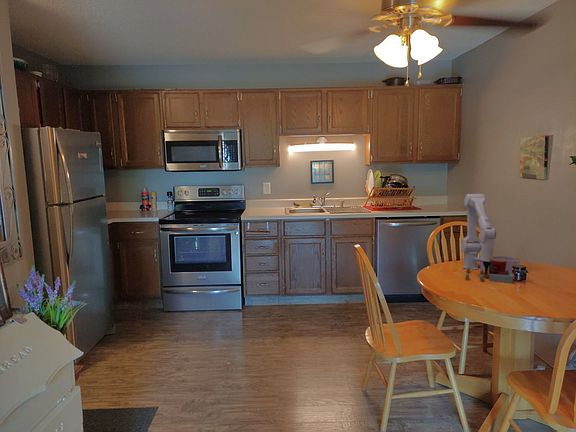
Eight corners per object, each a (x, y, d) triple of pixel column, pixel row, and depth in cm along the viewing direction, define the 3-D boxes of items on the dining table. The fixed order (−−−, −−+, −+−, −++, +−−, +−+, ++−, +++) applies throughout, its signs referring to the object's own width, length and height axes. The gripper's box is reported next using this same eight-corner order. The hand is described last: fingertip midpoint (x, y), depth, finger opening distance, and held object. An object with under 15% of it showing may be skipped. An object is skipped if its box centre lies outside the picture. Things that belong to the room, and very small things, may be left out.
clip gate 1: (466, 271, 230) (466, 266, 230) (469, 271, 229) (469, 267, 229) (465, 279, 213) (465, 275, 213) (468, 280, 212) (468, 275, 212)
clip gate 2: (480, 272, 227) (480, 268, 227) (483, 272, 226) (483, 268, 226) (479, 281, 210) (480, 276, 210) (483, 281, 209) (483, 277, 209)
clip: (479, 270, 232) (480, 258, 231) (480, 265, 243) (480, 254, 242) (519, 274, 223) (520, 262, 222) (518, 268, 234) (518, 257, 233)
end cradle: (488, 274, 223) (488, 268, 222) (510, 276, 218) (511, 270, 218) (489, 280, 211) (489, 274, 210) (512, 283, 206) (512, 276, 206)
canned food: (502, 277, 217) (505, 257, 215) (505, 281, 209) (508, 261, 207) (487, 275, 219) (489, 255, 217) (489, 279, 212) (491, 259, 210)
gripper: (472, 251, 215) (471, 275, 216) (502, 253, 209) (501, 278, 210) (472, 248, 221) (471, 272, 223) (502, 250, 215) (501, 275, 216)
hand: (486, 275), depth 217 cm, fingers closed, pressing on canned food
